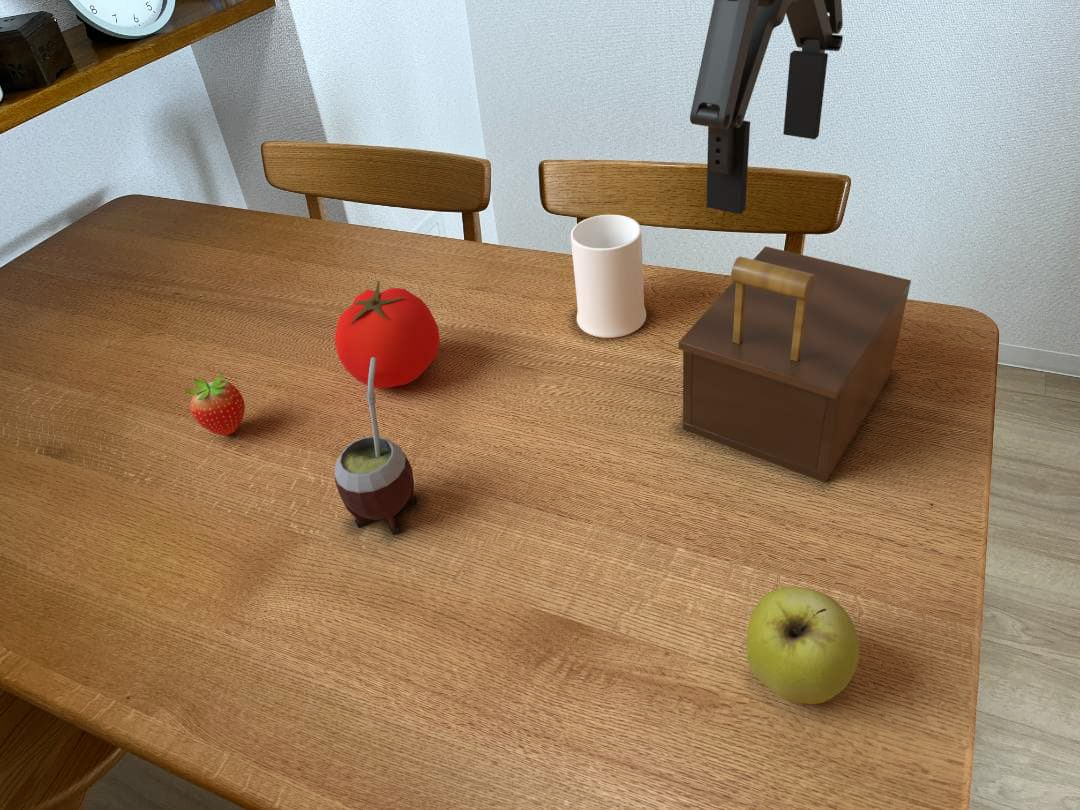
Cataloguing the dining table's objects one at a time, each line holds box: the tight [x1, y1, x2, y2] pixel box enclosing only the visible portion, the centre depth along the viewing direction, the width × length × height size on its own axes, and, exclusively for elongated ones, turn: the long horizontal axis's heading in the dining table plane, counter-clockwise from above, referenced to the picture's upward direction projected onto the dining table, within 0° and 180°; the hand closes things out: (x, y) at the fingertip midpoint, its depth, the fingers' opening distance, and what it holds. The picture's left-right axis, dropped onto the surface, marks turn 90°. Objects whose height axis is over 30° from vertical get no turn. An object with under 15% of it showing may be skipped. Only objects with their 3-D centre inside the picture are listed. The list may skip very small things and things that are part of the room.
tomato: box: [334, 280, 441, 389], centre depth 92 cm, size 12×12×11 cm
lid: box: [678, 246, 912, 399], centre depth 74 cm, size 19×15×10 cm
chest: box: [682, 288, 910, 483], centre depth 81 cm, size 18×15×11 cm
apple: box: [746, 586, 860, 705], centre depth 59 cm, size 8×8×10 cm
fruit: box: [183, 373, 246, 436], centre depth 88 cm, size 5×5×8 cm
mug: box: [570, 214, 647, 339], centre depth 97 cm, size 12×8×12 cm
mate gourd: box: [334, 358, 418, 536], centre depth 75 cm, size 8×8×15 cm
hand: (765, 170), depth 63 cm, fingers open, 13 cm apart
